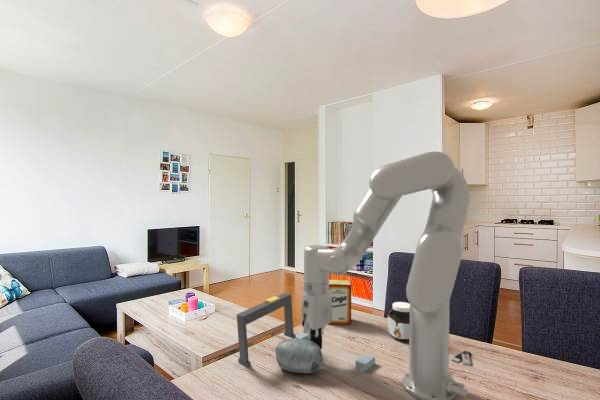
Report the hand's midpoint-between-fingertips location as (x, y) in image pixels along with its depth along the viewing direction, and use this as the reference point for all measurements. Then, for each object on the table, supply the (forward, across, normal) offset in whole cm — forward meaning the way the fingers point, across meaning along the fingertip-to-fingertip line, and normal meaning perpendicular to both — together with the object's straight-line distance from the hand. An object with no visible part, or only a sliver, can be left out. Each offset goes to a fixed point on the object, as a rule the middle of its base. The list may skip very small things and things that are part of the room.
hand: (316, 348), depth 94 cm
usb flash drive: (+5, +32, -33) cm, 46 cm away
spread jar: (+4, +35, -14) cm, 38 cm away
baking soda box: (+4, +31, +13) cm, 34 cm away
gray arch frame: (+3, -5, +15) cm, 16 cm away
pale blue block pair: (+4, +8, 0) cm, 9 cm away
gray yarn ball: (+4, -7, +1) cm, 8 cm away
